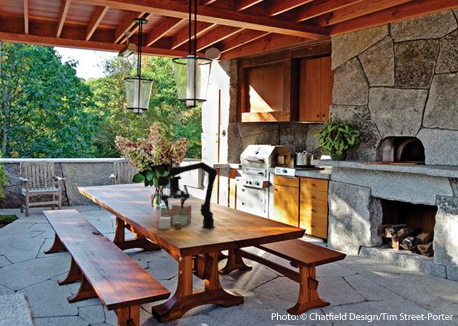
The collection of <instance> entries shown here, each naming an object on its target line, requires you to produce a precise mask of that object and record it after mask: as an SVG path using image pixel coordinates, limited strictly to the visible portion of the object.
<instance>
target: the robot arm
mask: <svg viewBox="0 0 458 326" xmlns="http://www.w3.org/2000/svg"><path fill="white" fill-rule="evenodd" d="M199 169H201V170H203V171H204V172H205V173H207V178H208V179H207V182H208V183H207V188H206V191H205V197H204V202H203V203H201V206H200V210H199V212H200V214H201V216H202V217H203V220H202V226H201V228H202V229H209V230H210V229H214V228H216V225H215V224H214V223H215V220H214V219H215V218H214V213H213V212H212V211H211V200H212V195H213V191H214V190H213V189H214V185H215V181H216V178H217V176H218V169H217V168H216V167H215V166H214V167H212V166H210V165H209V164H207V163H205V162H204V161H200V162H197V163H192V164H187V165H183V166H177V165H176V166H172V167H170V169H169V173H167V174H166V175H158V180H157V185H158V187H168V186H169V195H168V194H160V195H159V200H161V201H162V202H163V203H164V204H165V207H167V210H169V207H170V206H169V199H174V200H177V199H180V204H181V209H182V208H183V205H184V204H185V202H186V201H187V200H188V199H190V194H189V193H187V192H185V190H180V185H179V184H180V182H179V181H180V180H182V179H183V177H182V176H180V174H183V173H186V172H191V171H196V170H199ZM214 225H215V226H214Z"/></svg>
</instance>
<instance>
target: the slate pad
mask: <svg viewBox="0 0 458 326" xmlns="http://www.w3.org/2000/svg"><path fill="white" fill-rule="evenodd" d="M154 228H156V229H161V230H165V231H166V230H170V229H173V228H174V229H175V226H174V225H173V226H172V225H171V227H170V228H159V225H158V226H154Z"/></svg>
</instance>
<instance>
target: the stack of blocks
mask: <svg viewBox="0 0 458 326" xmlns="http://www.w3.org/2000/svg"><path fill="white" fill-rule="evenodd" d="M168 207H169V210H167V207H166V206H162V207H160V208H161V209H160V212H161V213H160V217H171V223H173V216H175V215H178V214H179V215H187V224H189V223H192V205H189V204H185V203H184V205H183V208H182V209H181V203H173V204H171V206H168Z"/></svg>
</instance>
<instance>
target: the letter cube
mask: <svg viewBox="0 0 458 326" xmlns="http://www.w3.org/2000/svg"><path fill="white" fill-rule="evenodd" d="M174 230H182V226H181V222H175V225H174Z"/></svg>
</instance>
